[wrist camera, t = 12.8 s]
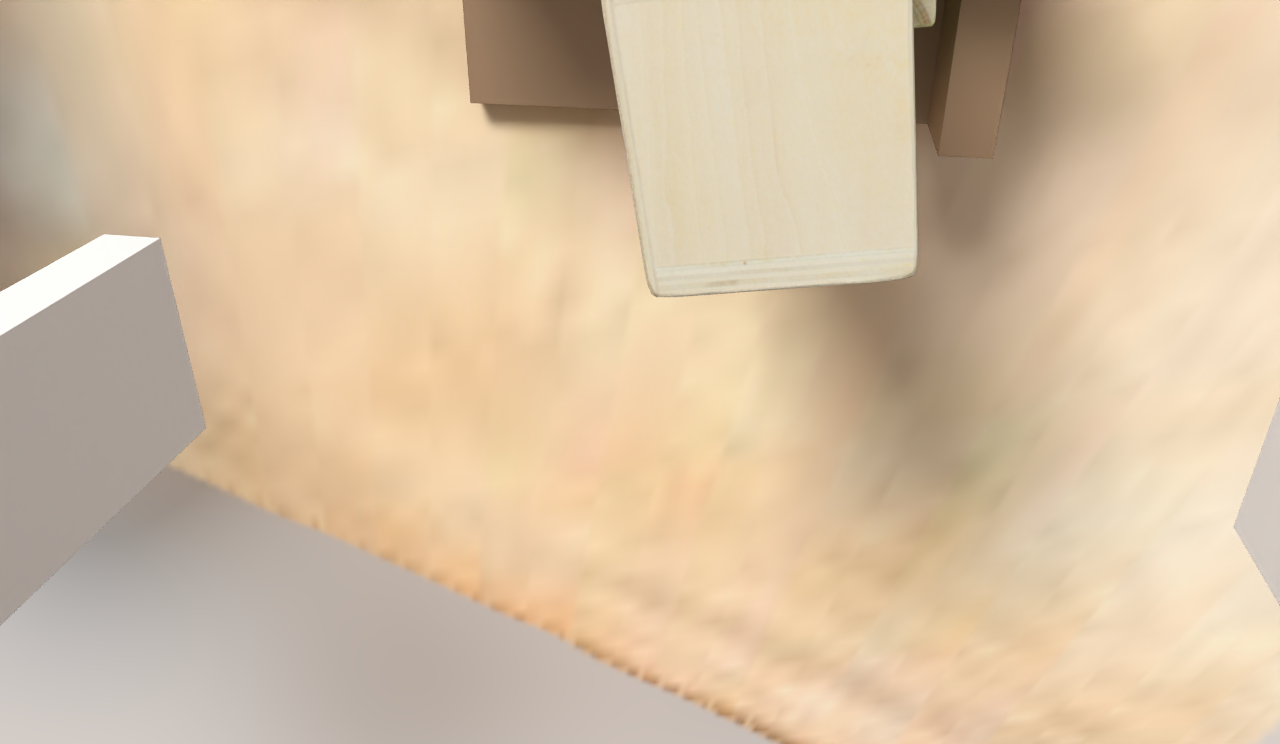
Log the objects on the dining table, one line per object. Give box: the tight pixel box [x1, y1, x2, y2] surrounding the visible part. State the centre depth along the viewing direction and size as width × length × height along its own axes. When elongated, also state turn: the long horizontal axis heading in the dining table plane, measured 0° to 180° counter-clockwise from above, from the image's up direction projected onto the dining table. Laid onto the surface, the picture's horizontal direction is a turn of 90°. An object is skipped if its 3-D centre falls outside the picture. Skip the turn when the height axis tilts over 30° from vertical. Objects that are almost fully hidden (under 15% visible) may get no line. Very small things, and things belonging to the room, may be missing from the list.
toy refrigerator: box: [601, 0, 936, 297], centre depth 31 cm, size 8×7×21 cm
